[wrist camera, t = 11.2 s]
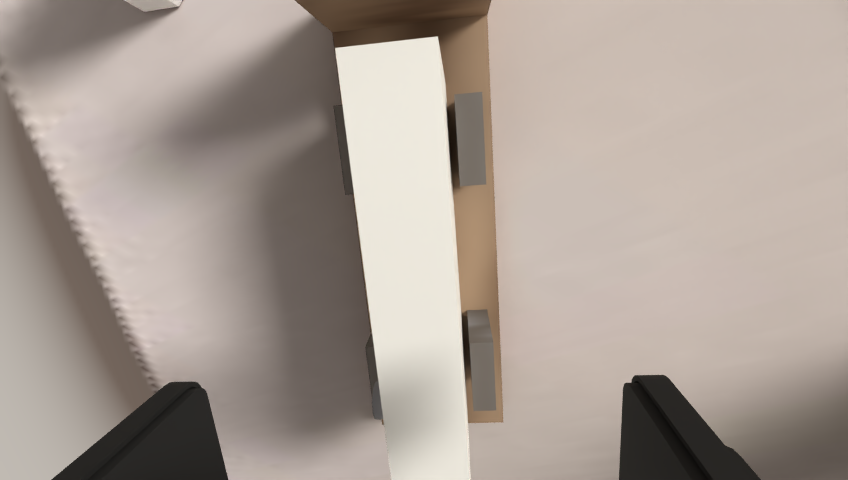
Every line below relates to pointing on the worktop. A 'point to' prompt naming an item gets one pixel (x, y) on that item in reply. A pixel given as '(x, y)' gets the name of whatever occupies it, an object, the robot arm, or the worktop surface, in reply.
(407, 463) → the door panel
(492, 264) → the cabinet base
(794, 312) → the worktop surface
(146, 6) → the pepper shaker
